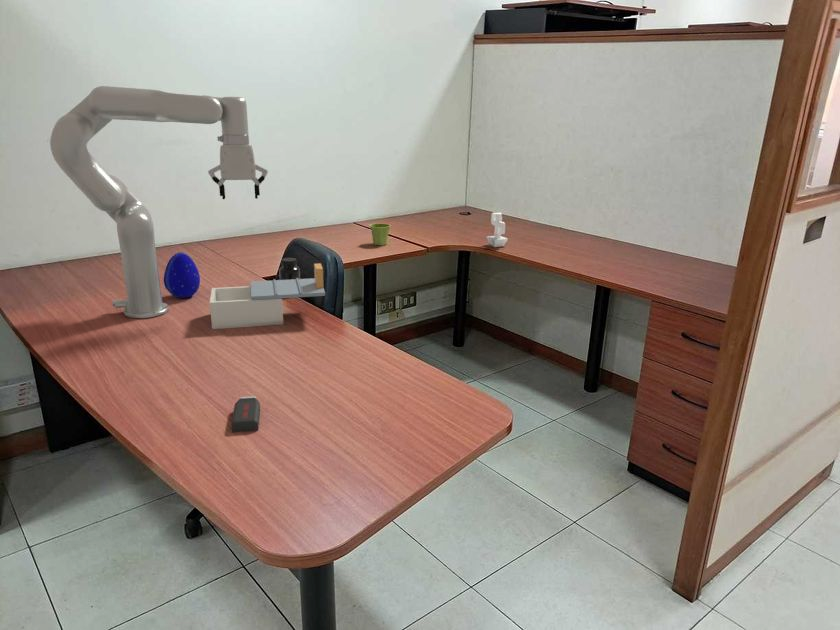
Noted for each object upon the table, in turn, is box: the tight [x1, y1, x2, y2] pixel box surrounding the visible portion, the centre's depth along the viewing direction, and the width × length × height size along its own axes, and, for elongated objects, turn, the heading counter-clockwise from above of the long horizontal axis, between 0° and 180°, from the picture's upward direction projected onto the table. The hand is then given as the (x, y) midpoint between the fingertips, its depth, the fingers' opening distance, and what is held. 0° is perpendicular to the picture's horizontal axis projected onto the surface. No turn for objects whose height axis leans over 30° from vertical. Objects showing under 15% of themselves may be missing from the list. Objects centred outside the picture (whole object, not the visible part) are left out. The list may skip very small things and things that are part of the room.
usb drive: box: [231, 395, 261, 433], centre depth 130 cm, size 5×12×3 cm, turn 11°
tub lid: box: [250, 263, 326, 300], centre depth 185 cm, size 21×15×7 cm
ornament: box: [163, 251, 201, 299], centre depth 201 cm, size 11×9×15 cm
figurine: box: [486, 212, 509, 248], centre depth 280 cm, size 7×9×15 cm
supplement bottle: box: [278, 257, 301, 280], centre depth 207 cm, size 7×7×12 cm
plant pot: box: [369, 222, 391, 247], centre depth 278 cm, size 9×9×9 cm
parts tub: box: [209, 285, 284, 330], centre depth 185 cm, size 20×14×8 cm
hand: (240, 198), depth 190 cm, fingers open, 9 cm apart
